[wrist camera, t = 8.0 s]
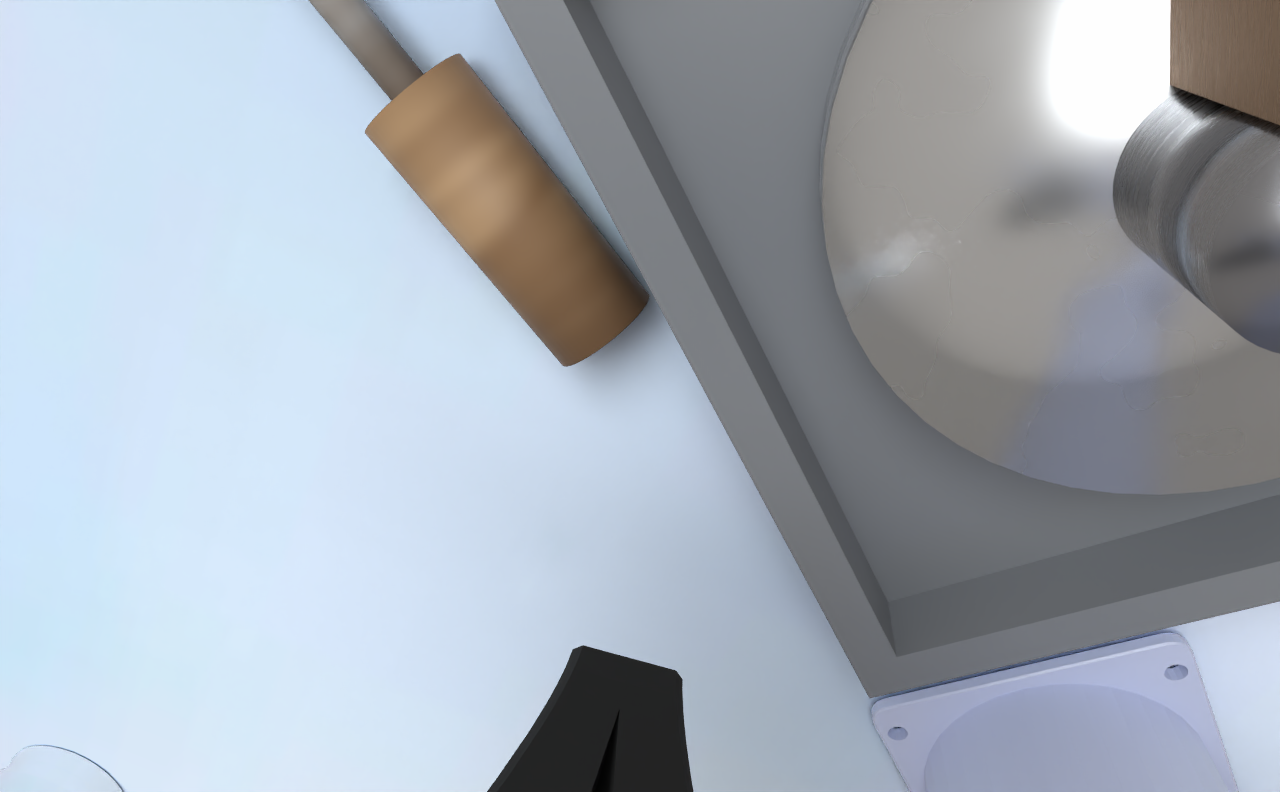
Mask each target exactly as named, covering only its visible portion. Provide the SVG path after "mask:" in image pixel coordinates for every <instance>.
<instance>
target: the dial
mask: <svg viewBox="0 0 1280 792" xmlns="http://www.w3.org/2000/svg"><path fill="white" fill-rule="evenodd" d="M819 190H820V200H821V210H822V220H823V228H824V236H825V243H826V250H827V255H828V259H829V263H830V267H831V271H832V275H833V279H834V283H835V287H836V292H837V294H838V297H839V299H840V302H841V304H842V307H843V309H844V312H845V314H846V317H847V319H848V322H849V324H850V326H851V329H852V331H853V333H854V335H855V336H856V338H857V340H858V341H859V343H860V345H861V346H862V348H863V350H864V352H865V353H866V355H867V357H868V358H869V360H870V362H871V363H872V365H873V366H874V368H875V369H876V370H877V371H878V373H879V374H880V375H881V376H882V378H883V379H884V380H885V381H886V382H887V384H888V385H889V386H890V387H891V389H892V390H893V391H894V392H895V394H896V395H897V396H898V397H899V398H900V399H901V400H902V401H903V402H905V403H906V404H907V405H908V406H909V407H910V408H911V409H912V410H913V411H914V412H915V413H916V414H917V415H918V416H919V417H921V418H922V419H923V420H924V421H925V422H926V423H928V424H929V425H930V426H932V427H933V428H935V429H936V430H937V431H939V432H940V433H942V434H943V435H945V436H946V437H947V438H949V439H950V440H952V441H953V442H954V443H956V444H957V445H959V446H961V447H963V448H965V449H967V450H969V451H971V452H973V453H974V454H976V455H978V456H980V457H982V458H984V459H986V460H988V461H990V462H992V463H994V464H997V465H999V466H1002V467H1004V468H1007V469H1010V470H1012V471H1015V472H1018V473H1020V474H1023V475H1026V476H1028V477H1031V478H1035V479H1039V480H1043V481H1047V482H1051V483H1055V484H1059V485H1063V486H1067V487H1071V488H1079V489H1086V490H1094V491H1101V492H1109V493H1119V494H1153V495H1163V494H1178V493H1193V492H1207V491H1213V490H1219V489H1225V488H1232V487H1238V486H1244V485H1250V484H1256V483H1260V482H1264V481H1267V480H1271V479H1275V478H1279V477H1280V0H862V1H861V4H860V6H859V8H858V11H857V13H856V15H855V18H854V20H853V22H852V25H851V27H850V29H849V32H848V34H847V36H846V39H845V41H844V43H843V46H842V48H841V51H840V55H839V58H838V62H837V65H836V68H835V72H834V75H833V79H832V82H831V85H830V89H829V92H828V96H827V102H826V109H825V115H824V121H823V127H822V133H821V139H820V165H819Z"/></svg>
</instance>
